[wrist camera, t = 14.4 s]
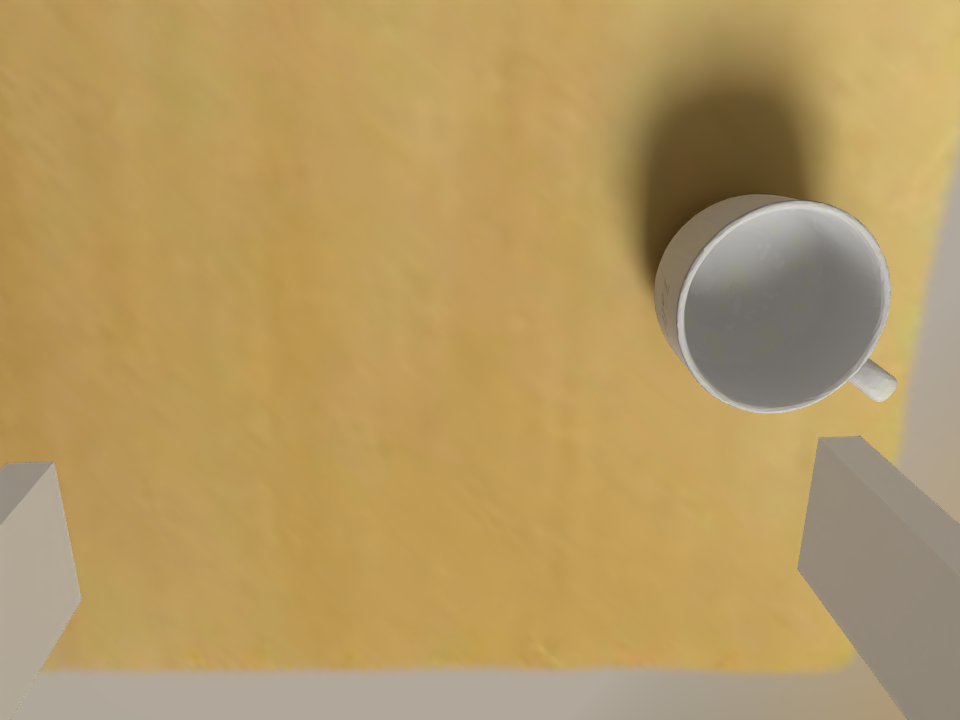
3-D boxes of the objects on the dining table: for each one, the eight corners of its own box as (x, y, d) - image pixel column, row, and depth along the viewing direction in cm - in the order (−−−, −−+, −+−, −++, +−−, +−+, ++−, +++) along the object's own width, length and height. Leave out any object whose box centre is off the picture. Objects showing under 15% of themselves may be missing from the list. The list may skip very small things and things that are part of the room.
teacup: (601, 269, 48) (633, 311, 41) (752, 135, 46) (815, 154, 38) (744, 427, 52) (797, 492, 45) (889, 311, 50) (971, 358, 43)
